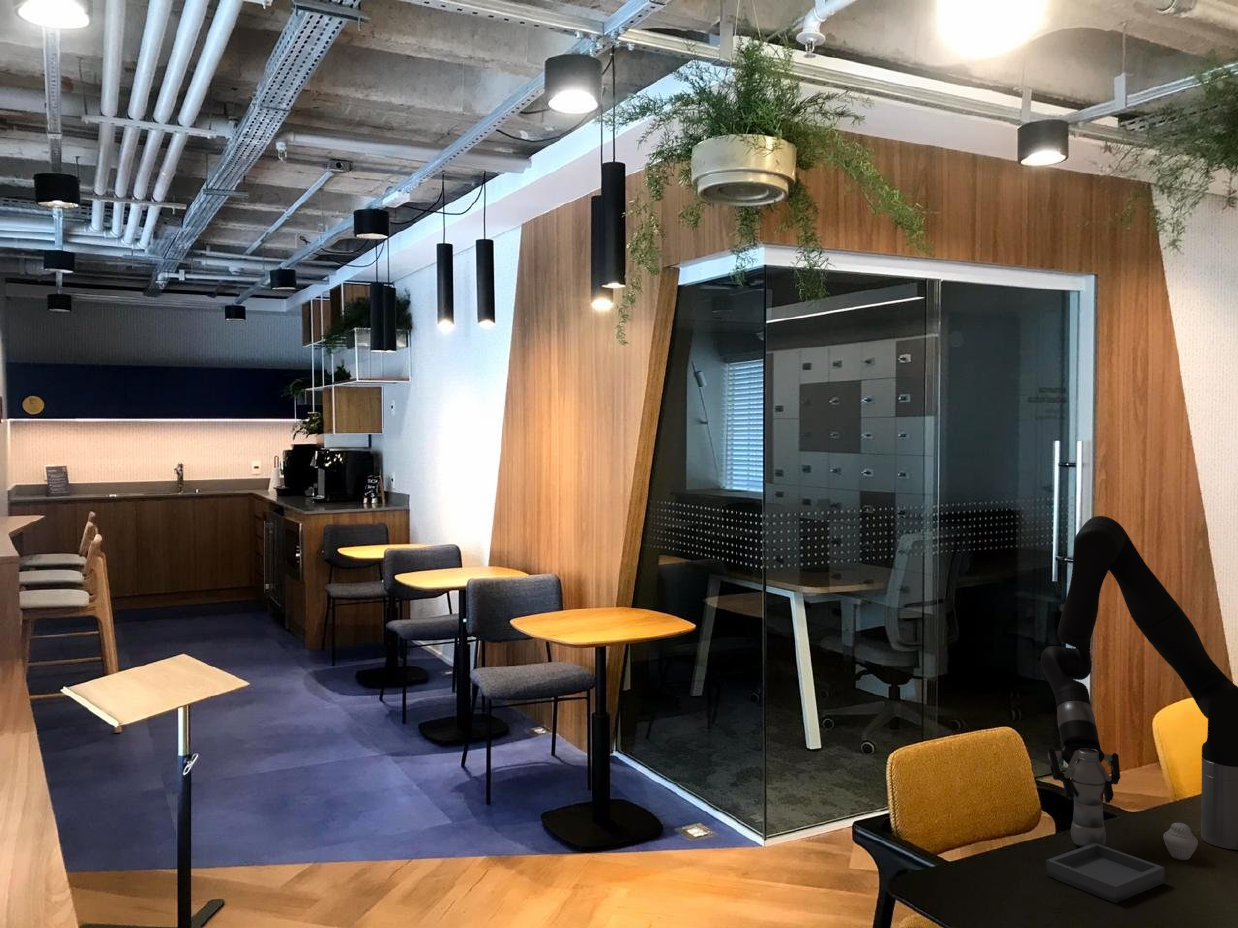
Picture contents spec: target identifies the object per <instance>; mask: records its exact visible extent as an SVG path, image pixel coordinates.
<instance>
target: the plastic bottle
mask: <svg viewBox="0 0 1238 928" xmlns="http://www.w3.org/2000/svg"><path fill="white" fill-rule="evenodd" d="M1098 757H1099V753H1098V751H1097V750H1094V749H1088V748H1081V749H1079V756H1078V759H1079V760H1080V761H1079V762H1078V763H1077V764H1076V765H1075V766H1074V768H1073V769H1072V772H1071V778H1070V779H1072V785H1073V791H1074V798H1073V815H1072V822H1071V826H1070V835H1071V836H1070V838H1071V839H1072V841H1073V843H1074V844H1075V845H1076V846H1078V847H1080V848H1082V847H1084V846H1087V845H1090V844H1093V843H1097V844H1100V845H1103V846H1105V845H1106V840H1107V831H1106V827H1105V822H1104V821H1105V820H1104V812H1103V811H1104V810H1103V807H1104V805H1103V804H1104V788H1105V782H1106V777H1105V774H1104V772H1103V771H1102V769H1101V767H1100V766H1099V765H1098V763H1097V762H1098V761H1099V758H1098Z"/></svg>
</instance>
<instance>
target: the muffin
mask: <svg viewBox="0 0 1238 928" xmlns="http://www.w3.org/2000/svg"><path fill="white" fill-rule="evenodd" d="M1162 836H1163V840H1164V844H1165V846H1166V848H1167V850H1168V852H1169V854H1170V856H1171V857H1172V858H1174V859H1175V860H1180V861H1181V860H1182V861H1188V860H1189V859H1191V857H1192V856H1193V854H1194V853H1195V851H1196V850H1197V847H1198V845H1199V841H1198V838H1197V837H1195V835H1194V834H1193V832H1192V830H1191V828H1190V826H1189V825H1188V824H1185V823H1183V822H1174V823H1172V824H1171V825H1170V827H1169V829H1168V830H1166V832H1164V833H1163V835H1162Z"/></svg>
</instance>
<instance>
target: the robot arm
mask: <svg viewBox="0 0 1238 928" xmlns="http://www.w3.org/2000/svg"><path fill="white" fill-rule="evenodd" d="M1109 572H1110V573H1111V575H1112V576H1113V578H1114V580H1115V581H1116V583H1117V585H1118V587H1119V589H1120V592H1121V594H1122V596H1123V601H1124V603H1125V605H1126V608H1127V609H1128V613H1129V614H1130V617H1131V618H1132V620H1133V622H1134V623H1135V625H1136V626H1137V628H1138V629H1139V631H1140V632H1141V633H1142V634H1143V635H1144V637H1145V638H1146V640H1147V641H1148V642H1149V643H1150V645H1152V646H1153V648H1154V649H1155V651H1157V653H1158V654H1159V655H1160V656H1161V657H1162V658H1163V659H1164V661H1166V662H1167V664H1168V665H1169V666H1170V667H1171V668H1172V669H1173V670H1174V671H1175V673H1176V674H1177V675H1178V677H1179V678H1180V679H1181V681H1182V682H1183V684H1184V685H1185V687H1186V689H1187V690H1188V692H1189V693H1190V695H1191V697H1192V698H1193V700H1194V701H1195V704H1196V706H1197V707H1198V709H1199V711H1200V712H1201V713H1202V715H1203V716H1204V717H1205V718H1206V719H1207V734H1206V735H1207V736H1206V741H1205V742H1203V743H1202V745H1201V797H1200V798H1201V800H1200V801H1201V805H1200V806H1201V810H1200V811H1201V813H1200V814H1201V818H1200V820H1201V821H1200V828H1201V829H1200V837H1201V839H1202V841H1204V842H1206V843H1207V844H1209V845H1212V846H1215V847H1218V848H1223V849H1228V850H1234V851H1235V850H1237V851H1238V685H1236V684H1235V683H1234V682H1232V680H1231V679H1229V678H1228V677H1227V676H1226V675H1225V674H1224V673H1223V671H1222V670H1221V669H1220V668H1219V666H1217V664H1216V663H1215V662H1214V661H1213V660H1212V658H1211V657H1210V656H1209V654H1208V653H1207V650H1206V649H1205V646H1204V645H1203V643H1202V640H1201V638H1200V635H1199V633H1198V632H1197V630H1196V627H1195V626H1194V624H1193V623H1192V621H1191V620H1190V618H1189V617H1188V615H1186V613H1185V611H1183V609H1182V608H1181V606H1180V605H1179V604H1178V602H1177V601H1176V600H1175V599H1174V598H1173V597H1172V595H1171V594H1170V593H1169V592H1168V591H1167V589H1166V588H1165V586H1164V585H1163V583H1161V581H1160V580H1159V579H1158V578H1157V576H1156V575H1155V574H1154V573H1153V571H1152V570H1151V569H1150V567H1148V565H1147V563H1146V562H1145V560H1144V559H1143V558H1142V556H1141V554H1140V553H1139V551H1138V550H1137V548H1136V546H1135V545H1134V543H1133V541H1132V540H1131V538H1130V536H1129V535H1128V533H1127V531H1126V530H1125V529H1124V528H1123V525H1121V524H1120V523H1119V522H1118V521H1116V520H1115V519H1113V518H1111V517H1109V516H1105V515H1097V516H1094V517H1093V516H1092V517H1091V518H1090V519H1089V518H1088V520H1087V521H1086V522H1085V523H1084V524H1083V525H1082V526H1081V528H1080V529H1079V531H1077V534H1076V535H1075V538H1074V540H1073V553H1072V569H1071V576H1070V577H1071V578H1070V584H1069V587H1068V590H1067V596H1066V598H1065V601H1064V604H1063V607H1062V613H1061V615H1060V620H1059V623H1058V627H1057V631H1056V633H1057V637H1058V639H1059V640H1060V641H1061V642H1063V643H1064V644H1066V645H1068V646H1069V647H1065V646H1058V645H1050V646H1047V647H1046V648H1045V649H1044V650H1043V651H1042V653H1041V656H1040V665H1041V669H1042V672H1043V673H1044V677H1046V680H1047V681H1048V683H1049V686H1050V687H1051V690H1052V692H1053V694H1054V699H1055V704H1056V710H1057V711H1056V713H1057V714H1056V716H1057V717H1056V719H1057V728H1058V731H1059V738H1060V743H1061V750H1055V749H1054V748H1049V750H1048V753H1047V761H1048V764H1049V769H1050V771H1051V776H1052V779H1053V780H1055V781H1061V783H1063V784H1062V785H1063V790H1064V795H1065V797H1067V798H1068V800H1070V801H1074V791H1073V785H1072V779H1071V772H1072V769H1073V768H1074V766H1075V765H1076V764H1077V763H1078V762H1079V761H1080V760H1079V759H1078V756H1079V749H1081V748H1088V749H1094V750H1097V751H1098V753H1099V757H1098V758H1099V761H1098V762H1097V763H1098V765H1099V766H1100V767H1101V769H1102V771H1103V772H1104V774H1105V777H1106V782H1105V788H1104V794H1103V798H1104V801H1105V803H1107V804H1108V803H1109V804H1110V803H1111V801H1112V800H1113V798H1114V795H1115V794H1114V790H1113V786H1112V785H1118V784H1119V781H1120V779H1121V769H1120V758H1119V754H1118V753H1117V752H1114V753H1112V754H1109V753H1107V754H1106V753H1104V752H1103V751H1102V749H1101V745H1100V738H1099V734H1098V728H1097V723H1096V717H1095V715H1094V711H1093V707H1092V704H1091V703H1092V702H1091V699H1090V693H1089V689H1088V687H1087V686H1086V684H1084V683H1082V682H1081V681H1082V680H1085V679H1087V678H1088V677H1089V676H1090V675H1091V673H1092V669H1093V668H1092V667H1093V665H1092V664H1093V663H1092V655H1091V646H1092V644H1091V643H1092V637H1093V634H1094V631H1095V630H1094V629H1095V626H1096V622H1097V619H1098V618H1097V617H1098V613H1099V608H1100V607H1099V605H1100V594H1101V591H1102V586H1103V583H1104V582H1105V579H1106V577H1107V574H1108V573H1109ZM1070 646H1071V647H1070ZM1079 680H1080V681H1079ZM1060 758H1061V759H1062V760H1063V761H1064V762H1065V763H1066V764H1067V765H1068V766H1067V767H1066V770H1065V772H1062V771H1061V769H1060V765H1059V761H1060ZM1103 761H1105V762H1106V764H1107V765H1108V766H1109V767H1110V774H1109V773H1108V772H1107V770H1106V768H1105V767H1104V765H1103V764H1102V762H1103Z"/></svg>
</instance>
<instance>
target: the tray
mask: <svg viewBox="0 0 1238 928" xmlns="http://www.w3.org/2000/svg"><path fill="white" fill-rule="evenodd" d="M1045 862H1046V865H1045V866H1046V867H1045V870H1046V873H1045V876H1047V877H1049V878H1052V879H1055V880H1057V881H1058V882H1062V883H1064V884H1065V885H1066V884H1067V885H1069V886H1071V887H1073V888H1076V889H1079V890H1081V891H1083V892H1087V893H1089V894H1091V895H1094V896H1096V897H1099V898H1102V899H1103V900H1106V901H1108V902H1110V903H1113V904H1118V903H1120V902H1122V901H1125V900H1127V899H1130V898H1132V897H1135V896H1137V895H1140V894H1141V893H1144V892H1146V891H1149V890H1151V889H1154V888H1157V887H1158V886H1161V885H1163V884H1165V867H1164V866H1162V865H1159V864H1156V863H1153V862H1150V861H1147V860H1144V859H1141V858H1140V857H1137V856H1133V855H1130V854H1129V853H1128V854H1127V853H1126V852H1122V851H1119V850H1117V849H1114V848H1111V847H1109V846H1105V845H1104V846H1103V845H1100V844H1097V843H1093V844H1090V845H1087V846H1084V847H1080V848H1077V849H1074V850H1071V851H1068V852H1065V853H1062V854H1060V855H1056V856H1054V857H1051V858H1049V859H1046V861H1045Z"/></svg>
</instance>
